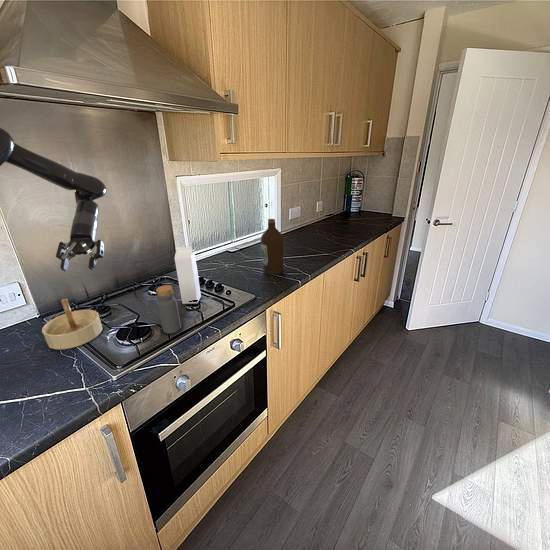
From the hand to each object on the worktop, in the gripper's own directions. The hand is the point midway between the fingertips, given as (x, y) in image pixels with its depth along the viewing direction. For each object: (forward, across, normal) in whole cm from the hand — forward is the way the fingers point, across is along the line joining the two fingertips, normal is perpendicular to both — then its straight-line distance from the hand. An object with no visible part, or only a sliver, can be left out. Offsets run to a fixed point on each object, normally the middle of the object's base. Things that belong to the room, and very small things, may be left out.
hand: (77, 269), depth 98 cm
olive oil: (-9, +69, +36) cm, 78 cm away
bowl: (+21, 0, +5) cm, 22 cm away
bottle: (+22, +30, +5) cm, 38 cm away
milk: (+8, +34, +19) cm, 40 cm away
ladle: (+21, 0, +5) cm, 21 cm away
